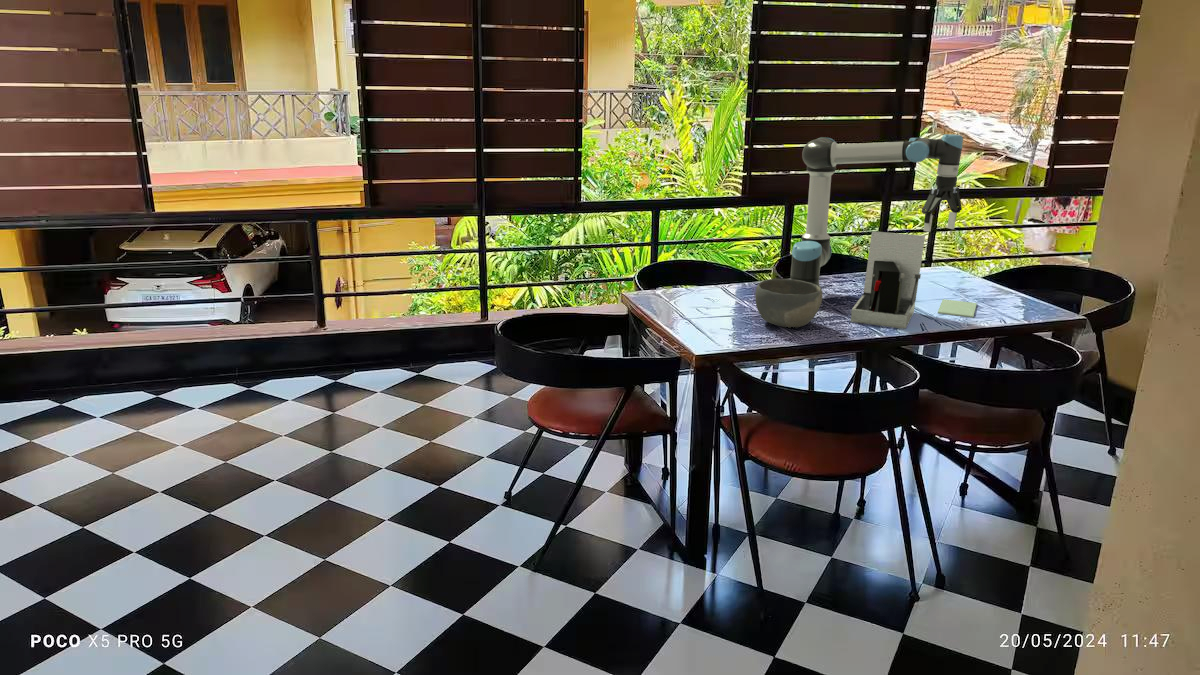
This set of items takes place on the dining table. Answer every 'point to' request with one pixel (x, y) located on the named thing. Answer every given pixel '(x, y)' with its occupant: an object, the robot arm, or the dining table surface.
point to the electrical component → (886, 287)
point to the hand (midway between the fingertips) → (938, 230)
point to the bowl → (788, 301)
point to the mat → (957, 308)
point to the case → (909, 257)
